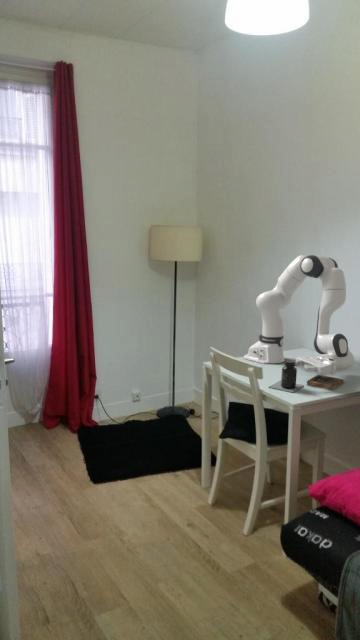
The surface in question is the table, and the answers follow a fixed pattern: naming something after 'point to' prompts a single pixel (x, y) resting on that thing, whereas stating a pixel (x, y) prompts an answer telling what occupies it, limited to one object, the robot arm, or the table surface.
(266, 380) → the table surface
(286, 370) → the supplement bottle
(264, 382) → the table surface
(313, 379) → the frame
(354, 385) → the table surface
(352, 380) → the table surface
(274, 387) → the grey mat
